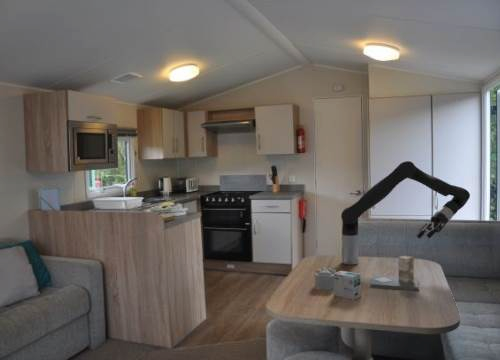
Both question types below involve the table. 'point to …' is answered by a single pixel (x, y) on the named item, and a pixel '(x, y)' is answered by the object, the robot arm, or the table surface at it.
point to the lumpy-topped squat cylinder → (324, 279)
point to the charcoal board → (393, 283)
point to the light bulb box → (347, 285)
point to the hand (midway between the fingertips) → (422, 237)
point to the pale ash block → (406, 269)
